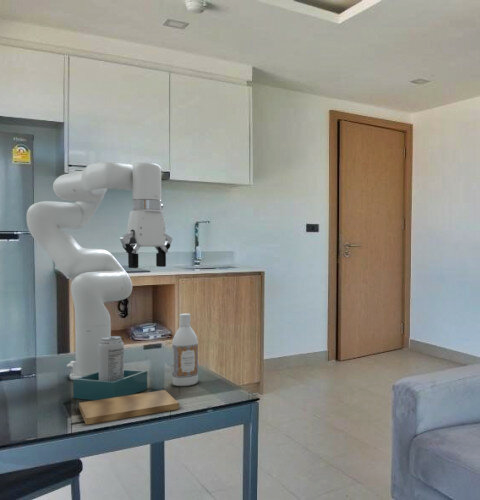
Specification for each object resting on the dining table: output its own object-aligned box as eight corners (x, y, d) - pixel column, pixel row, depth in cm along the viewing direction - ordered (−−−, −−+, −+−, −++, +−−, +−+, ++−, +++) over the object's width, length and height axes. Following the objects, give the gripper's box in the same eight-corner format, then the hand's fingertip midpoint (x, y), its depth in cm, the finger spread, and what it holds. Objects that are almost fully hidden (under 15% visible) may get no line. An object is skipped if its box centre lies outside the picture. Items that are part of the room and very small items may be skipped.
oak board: (86, 424, 118) (85, 418, 118) (78, 408, 129) (78, 402, 129) (178, 408, 129) (179, 402, 129) (164, 395, 141) (164, 389, 141)
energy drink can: (114, 389, 147) (114, 335, 147) (128, 392, 144) (128, 337, 144) (94, 394, 142) (93, 338, 141) (107, 397, 139) (107, 340, 138)
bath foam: (175, 388, 148) (175, 316, 148) (169, 382, 154) (169, 313, 153) (200, 384, 152) (200, 314, 152) (194, 379, 158) (194, 312, 157)
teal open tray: (73, 398, 138) (73, 379, 138) (109, 385, 150) (109, 368, 150) (113, 402, 135) (113, 382, 135) (147, 388, 147) (147, 370, 147)
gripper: (161, 209, 160) (161, 265, 160) (111, 205, 144) (111, 268, 145) (180, 208, 157) (180, 266, 157) (131, 204, 141) (131, 268, 141)
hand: (147, 267), depth 151 cm, fingers open, 9 cm apart
